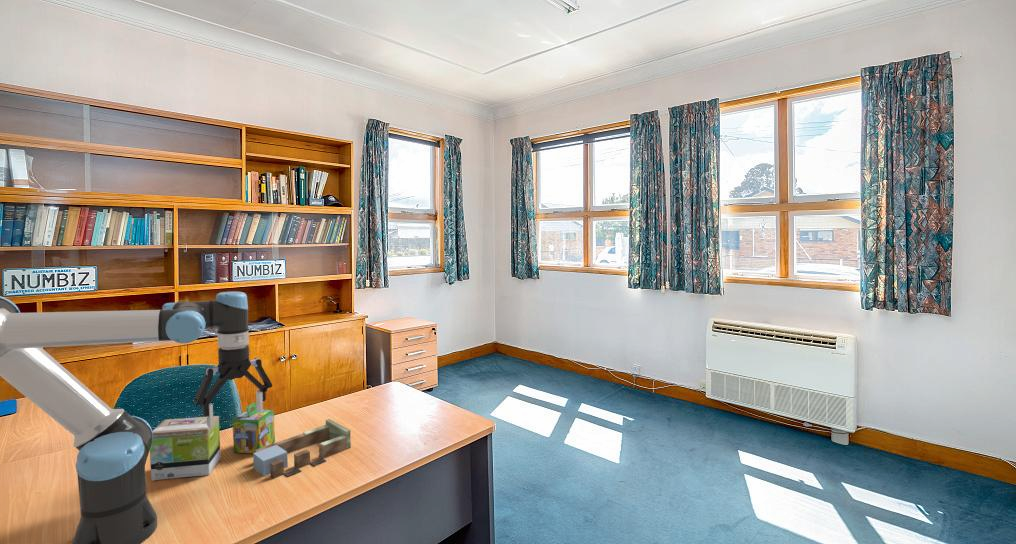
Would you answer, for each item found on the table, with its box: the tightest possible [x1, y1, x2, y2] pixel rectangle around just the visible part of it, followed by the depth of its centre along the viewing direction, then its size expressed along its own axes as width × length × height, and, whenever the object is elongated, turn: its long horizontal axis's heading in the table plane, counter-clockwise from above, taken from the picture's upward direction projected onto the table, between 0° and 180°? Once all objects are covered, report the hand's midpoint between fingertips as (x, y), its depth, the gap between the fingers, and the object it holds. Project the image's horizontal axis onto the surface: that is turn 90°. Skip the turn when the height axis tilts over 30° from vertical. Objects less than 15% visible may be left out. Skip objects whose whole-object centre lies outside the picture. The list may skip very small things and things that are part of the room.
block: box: [252, 445, 289, 477], centre depth 138 cm, size 7×7×5 cm
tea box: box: [149, 415, 221, 482], centre depth 135 cm, size 15×10×15 cm
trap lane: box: [254, 418, 352, 479], centre depth 145 cm, size 25×16×6 cm, turn 140°
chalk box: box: [231, 401, 276, 454], centre depth 149 cm, size 9×9×15 cm
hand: (235, 419), depth 129 cm, fingers open, 12 cm apart
